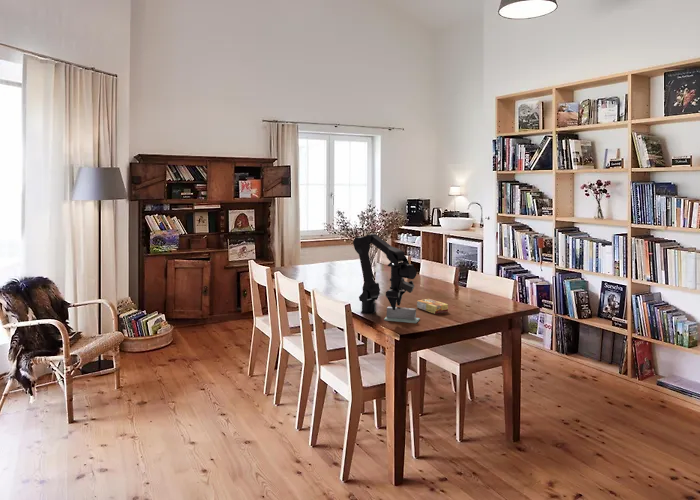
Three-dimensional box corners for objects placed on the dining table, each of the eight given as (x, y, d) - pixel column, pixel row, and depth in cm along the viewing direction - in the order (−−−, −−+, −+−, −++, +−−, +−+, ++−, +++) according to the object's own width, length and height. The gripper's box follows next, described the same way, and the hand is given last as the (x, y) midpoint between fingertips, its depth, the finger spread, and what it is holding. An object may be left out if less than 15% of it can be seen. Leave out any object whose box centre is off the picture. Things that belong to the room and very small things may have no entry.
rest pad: (384, 320, 263) (384, 318, 263) (388, 316, 270) (388, 315, 270) (416, 323, 258) (416, 321, 258) (419, 319, 265) (419, 318, 264)
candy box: (448, 312, 279) (429, 306, 292) (448, 304, 279) (429, 298, 292) (434, 314, 275) (416, 307, 288) (434, 306, 274) (416, 300, 287)
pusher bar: (386, 317, 265) (386, 307, 264) (388, 316, 268) (388, 306, 267) (414, 320, 260) (414, 310, 260) (415, 318, 263) (416, 308, 263)
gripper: (408, 280, 250) (408, 313, 253) (417, 274, 268) (416, 304, 270) (385, 279, 254) (385, 311, 256) (395, 272, 272) (395, 302, 274)
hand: (396, 307), depth 264 cm, fingers open, 9 cm apart
